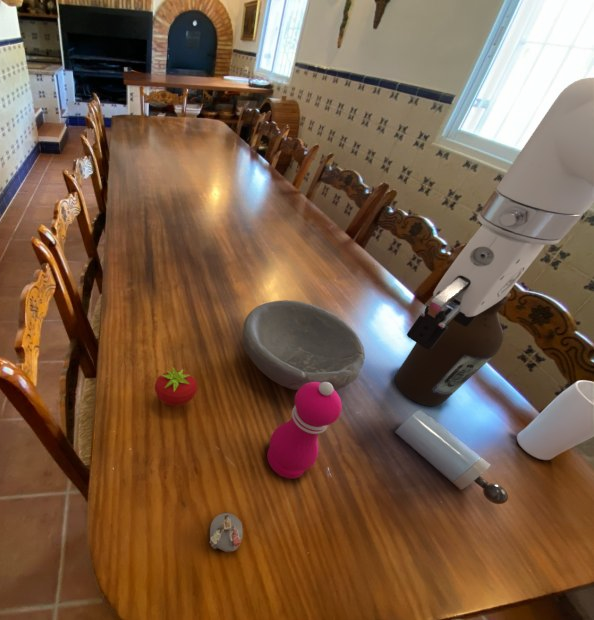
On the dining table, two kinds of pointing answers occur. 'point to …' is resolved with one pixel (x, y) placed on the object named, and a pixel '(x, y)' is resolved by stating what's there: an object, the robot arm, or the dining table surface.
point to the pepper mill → (303, 429)
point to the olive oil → (451, 358)
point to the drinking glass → (561, 423)
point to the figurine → (226, 532)
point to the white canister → (448, 454)
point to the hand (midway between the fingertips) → (437, 330)
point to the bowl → (302, 345)
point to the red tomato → (175, 387)
